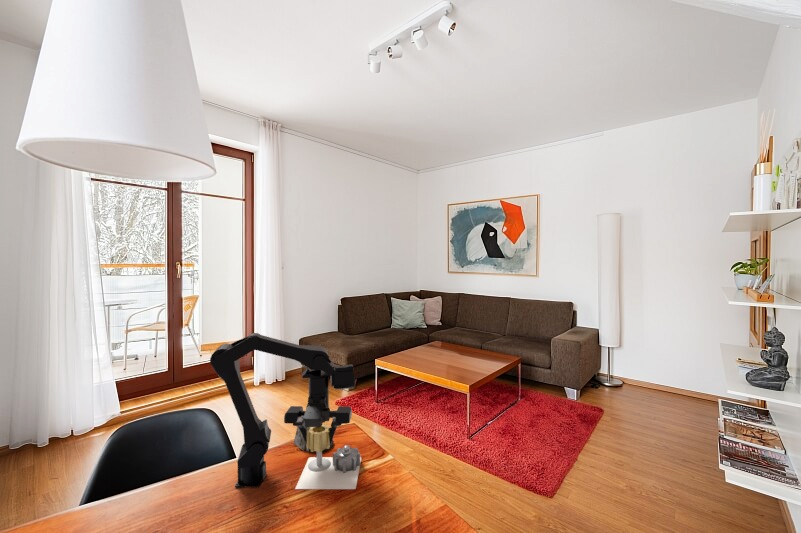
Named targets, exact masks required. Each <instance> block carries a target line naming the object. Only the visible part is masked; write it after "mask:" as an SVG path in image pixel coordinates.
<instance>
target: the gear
mask: <svg viewBox="0 0 801 533" xmlns="http://www.w3.org/2000/svg"><path fill="white" fill-rule="evenodd" d="M350 446H351V445H348V444H346V445H343V447H338V448H337V449H336V451H334V452H332V457H333V466H334V470H335V471H337V470H339V471H343V473H346V471H351V470H353V471H355V470H356V467H357V466H360V467H361V463H360V457H361V452H359V447H352V446H351V447H350Z"/></svg>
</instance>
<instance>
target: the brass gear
mask: <svg viewBox="0 0 801 533" xmlns="http://www.w3.org/2000/svg"><path fill="white" fill-rule="evenodd" d="M330 433H331V426H328V425H327V423H323V424H322V426H321V427H319V428H316V427H309V428H308V431H307V449H310V450H311V452H310V453H314V451H320V452H322V450H325V449H329V448H330ZM322 453H323V452H322Z"/></svg>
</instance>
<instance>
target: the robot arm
mask: <svg viewBox="0 0 801 533" xmlns="http://www.w3.org/2000/svg"><path fill="white" fill-rule="evenodd" d="M253 351H258V352H262V353H266V354H270V355H273V356H274V355H275V356H277V357H281V358H286V359H289V360H294V361H297V362H298V363H300V364H301V365H303V366H305V367H306V369H305V370H304V371H303V372H302V373H301V376H302V377H301V378H302V379H308V397H307V404H306V409H305V410H304V407H303V405H301V406H299V405H298V406H297V405H296V406H293V405H292V406H289V408H288V409H287V411H286V412H285V413H284V416H283V418H284V419H283V423H284V424H292V426H293V427H298V428H299V429H300V431H301V433H302V436H303V438H304V441H305V443H306V444H307V431H308V428H309V427H316V428H319V427H321V426H322V425H324V424H326V422H329V421H330V419H332V421H331V422H330V423H331V424H330V427H331V433H330V444H331V443H332V440H333V441H334V437H335V433H336V430H337V428H338V427H341V426H342V425H343V424H344V425H346V424H350V422H351V419H352V416H353V410H352V407H351V406H345V405H343V406H342V405H341V406H340V405H339V406H338V407H337V410H331V409H330V404H329V402H330V400H329V399H330V397H329V396H330V388H329V387H333V389H334V390H336V391H337V390H347V389H349V390H350V389H354V388H355V386H356V379H355V372H354V365H353V364H352V363H351V364H346V365H335V364H334V362H333V361H332V360H331V359H330V356H329V353H328V350H327V348H325V347H324V346H321V345H315V344H314V345H313V344H307V345H304V344H303V345H302V344H296V343H294V342H293V343H292V342H288V341H286V340H282V339H277V338H273V337H271V336H270V337H269V336H266V335H262V334H260V333H258V332H253V333H251V334H249V335H248V336H246V337H243V338H241V339H238V340H236V341H234V342H231V343H223V344H221V345H219V346H218V347H217V348H216V349H215V350H214V352H212V353H211V356H210V358H209V364H210V365H211V368H212V369H213V371H214V372H215V373H216V376H218V377H219V378H220V379H221V380H222V381H223V382H224V383H225V386H226V388H227V392H228V393H229V396H230V399H231V401H232V403H233V406H234V408H235V409H234V410H235V411H236V414H237V416H238V419H239V422H240V423H241V425H242V430H243V444H242V445H241V448H240V452H239V455H238V459H237V482H236V483H235V484H234V487H235V488H258V487H260V486H261V483H262V482H263V481H264V479H265V477H266V476H267V462H266V461H265V455H266V454H267V452H268V450H269V445H270V442H271V434H272V429H271V428H270V427H269V424H268V420H267V419H264V420H261V419H260V418H259V417H258V414H257V412H256V410H255V407H254V405H253V402H252V399H251V397H250V394H249V392H248V389H247V387H246V384H245V382H244V379H243V377H242V374H241V368H240V367H241V366H240V359H241V358H243V357H244V356H247V355H248V354H249V353H251V352H253ZM329 377H330V381H329ZM329 382H330V385H329Z"/></svg>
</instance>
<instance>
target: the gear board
mask: <svg viewBox="0 0 801 533" xmlns="http://www.w3.org/2000/svg"><path fill="white" fill-rule="evenodd" d="M361 462H362V457H361V456H360V464H361ZM360 469H361V465H360V466H357V467H356V470H355V471H353V470H351V471H346V473H343V471H339V470H337V471H335V470H334V466H333V456H332V457H331V456H329V457H327V456H325V457H324V456H323V452H320V451H316V457H315V456H313V457H312V456H311V457H310V456H309V457H308V459H307V461H306V463H305V466H304V468H303V470H302V472H301V475H300V476H299V479H298V482H297V483H296V486H295V488H294V490H356V488H357V485H358V484H357V483H358V478H359V473H360Z"/></svg>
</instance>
